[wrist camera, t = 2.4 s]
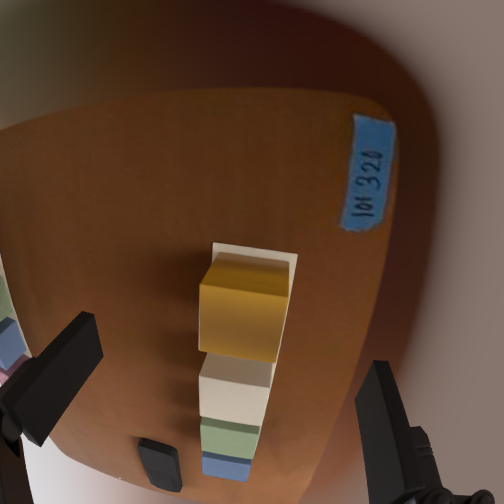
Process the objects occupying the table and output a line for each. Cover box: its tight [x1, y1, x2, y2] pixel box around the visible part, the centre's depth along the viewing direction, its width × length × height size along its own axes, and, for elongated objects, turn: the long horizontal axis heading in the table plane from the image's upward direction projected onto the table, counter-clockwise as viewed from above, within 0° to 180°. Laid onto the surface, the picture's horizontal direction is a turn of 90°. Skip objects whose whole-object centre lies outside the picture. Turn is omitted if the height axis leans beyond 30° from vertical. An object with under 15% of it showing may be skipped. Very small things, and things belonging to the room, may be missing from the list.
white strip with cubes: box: [199, 242, 298, 482], centre depth 21 cm, size 23×5×4 cm, turn 174°
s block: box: [199, 252, 290, 363], centre depth 17 cm, size 4×4×4 cm
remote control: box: [137, 438, 182, 492], centre depth 31 cm, size 5×2×15 cm
